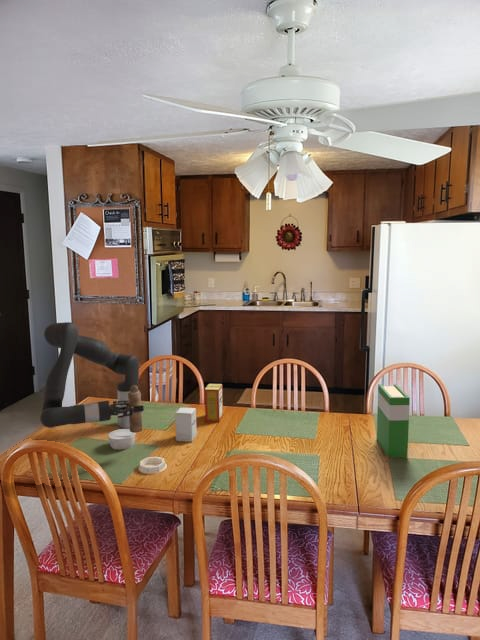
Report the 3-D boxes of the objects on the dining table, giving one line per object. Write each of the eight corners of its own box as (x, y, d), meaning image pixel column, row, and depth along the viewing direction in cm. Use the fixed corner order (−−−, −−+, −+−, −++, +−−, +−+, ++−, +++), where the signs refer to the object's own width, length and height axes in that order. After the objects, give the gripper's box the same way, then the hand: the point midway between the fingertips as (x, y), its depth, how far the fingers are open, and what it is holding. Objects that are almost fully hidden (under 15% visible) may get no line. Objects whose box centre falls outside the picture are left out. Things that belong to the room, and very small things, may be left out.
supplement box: (192, 442, 210) (191, 413, 208) (175, 441, 212) (174, 412, 210) (197, 435, 217) (196, 407, 215) (180, 434, 219) (179, 406, 217)
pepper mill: (127, 431, 195) (125, 386, 192) (135, 427, 199) (133, 383, 196) (136, 433, 192) (134, 387, 190) (144, 429, 196) (143, 384, 194)
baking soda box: (219, 422, 233) (218, 389, 230) (205, 421, 234) (204, 388, 231) (223, 415, 242) (222, 383, 240) (209, 414, 243) (209, 382, 241)
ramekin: (112, 453, 201) (111, 440, 200) (105, 443, 211) (105, 431, 210) (139, 447, 206) (138, 435, 205) (132, 438, 216) (131, 426, 215)
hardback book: (376, 439, 210) (378, 384, 206) (394, 439, 210) (396, 384, 206) (388, 457, 193) (390, 397, 189) (407, 457, 192) (409, 397, 189)
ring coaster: (132, 472, 184) (132, 464, 183) (151, 461, 193) (151, 453, 192) (154, 478, 179) (153, 470, 178) (172, 467, 187) (172, 459, 187)
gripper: (98, 408, 182) (145, 402, 188) (94, 396, 195) (138, 391, 201) (99, 427, 183) (146, 421, 189) (95, 415, 196) (139, 409, 202)
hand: (141, 406), depth 195 cm, fingers closed on pepper mill, 4 cm apart
